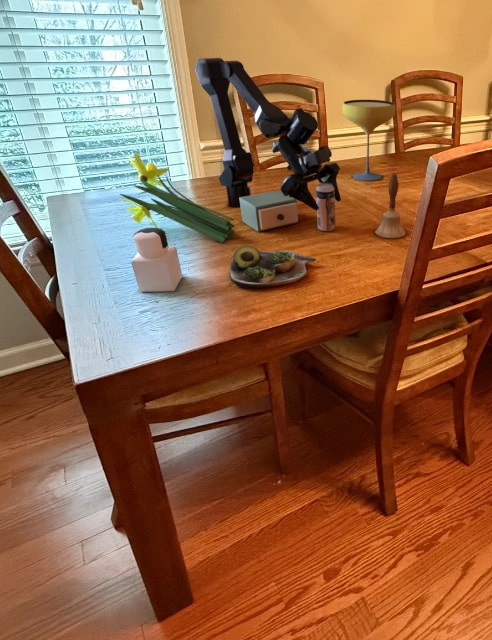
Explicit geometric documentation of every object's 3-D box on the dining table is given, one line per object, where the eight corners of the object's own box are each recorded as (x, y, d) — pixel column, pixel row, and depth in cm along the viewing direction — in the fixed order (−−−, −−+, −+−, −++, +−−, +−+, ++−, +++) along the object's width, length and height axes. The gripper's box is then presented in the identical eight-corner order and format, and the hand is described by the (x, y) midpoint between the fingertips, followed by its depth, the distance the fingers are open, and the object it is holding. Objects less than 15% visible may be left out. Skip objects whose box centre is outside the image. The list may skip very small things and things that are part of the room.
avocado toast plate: (312, 252, 115) (311, 234, 113) (322, 285, 101) (321, 265, 98) (231, 258, 111) (228, 240, 109) (230, 293, 97) (227, 273, 94)
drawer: (300, 222, 130) (299, 204, 127) (264, 231, 124) (262, 212, 121) (282, 212, 136) (281, 195, 133) (247, 220, 130) (245, 202, 128)
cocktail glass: (392, 184, 166) (396, 107, 152) (341, 183, 166) (340, 106, 152) (391, 171, 181) (394, 100, 167) (344, 170, 181) (344, 98, 167)
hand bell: (408, 229, 129) (413, 171, 120) (400, 240, 122) (404, 179, 114) (380, 225, 131) (382, 167, 122) (371, 236, 124) (372, 175, 116)
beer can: (332, 232, 126) (331, 188, 119) (315, 231, 127) (313, 187, 120) (337, 226, 130) (336, 183, 123) (320, 225, 131) (319, 182, 124)
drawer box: (298, 222, 132) (296, 198, 128) (258, 232, 126) (255, 207, 122) (280, 213, 138) (278, 189, 135) (242, 221, 132) (239, 197, 128)
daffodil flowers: (203, 258, 113) (86, 202, 118) (230, 264, 127) (126, 214, 132) (230, 193, 111) (111, 139, 116) (255, 207, 126) (148, 159, 130)
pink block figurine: (149, 276, 102) (135, 224, 96) (183, 276, 103) (171, 224, 96) (139, 292, 96) (123, 237, 90) (174, 291, 97) (161, 237, 90)
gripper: (284, 141, 111) (322, 196, 112) (333, 130, 124) (367, 179, 124) (265, 170, 119) (299, 220, 120) (313, 156, 132) (344, 202, 133)
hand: (329, 205), depth 124 cm, fingers open, 9 cm apart
